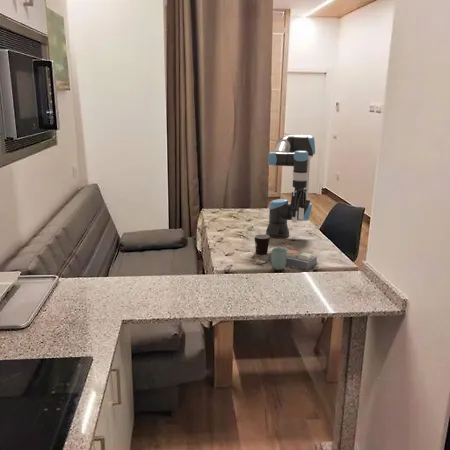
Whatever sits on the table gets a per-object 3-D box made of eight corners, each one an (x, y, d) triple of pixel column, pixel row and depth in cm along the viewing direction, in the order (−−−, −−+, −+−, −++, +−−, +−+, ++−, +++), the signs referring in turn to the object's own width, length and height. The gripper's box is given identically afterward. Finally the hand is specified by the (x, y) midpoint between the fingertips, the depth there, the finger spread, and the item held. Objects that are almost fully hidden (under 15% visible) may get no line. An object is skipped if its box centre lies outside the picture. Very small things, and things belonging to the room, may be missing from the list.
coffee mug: (268, 256, 251) (268, 239, 249) (253, 255, 253) (253, 238, 250) (270, 249, 262) (271, 233, 260) (255, 248, 264) (256, 232, 261)
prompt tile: (259, 259, 245) (259, 258, 245) (267, 261, 242) (267, 260, 242) (253, 263, 240) (253, 261, 240) (261, 265, 237) (261, 263, 237)
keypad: (278, 255, 253) (278, 248, 252) (316, 263, 241) (316, 256, 240) (268, 260, 244) (268, 253, 243) (306, 269, 231) (307, 262, 230)
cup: (275, 264, 238) (276, 247, 235) (288, 268, 234) (289, 249, 231) (268, 269, 232) (268, 250, 229) (281, 272, 228) (282, 253, 225)
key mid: (289, 256, 246) (290, 249, 245) (299, 258, 242) (299, 251, 241) (284, 259, 241) (285, 252, 240) (294, 261, 238) (295, 254, 237)
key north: (302, 258, 242) (302, 251, 240) (312, 261, 238) (312, 254, 237) (297, 261, 237) (298, 254, 236) (307, 264, 234) (308, 256, 233)
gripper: (301, 176, 252) (299, 216, 258) (284, 181, 236) (282, 223, 242) (314, 178, 248) (311, 218, 254) (297, 183, 232) (295, 225, 238)
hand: (297, 220), depth 248 cm, fingers open, 8 cm apart
